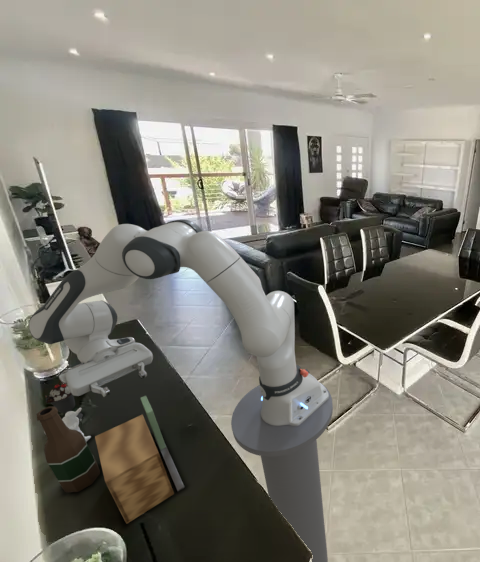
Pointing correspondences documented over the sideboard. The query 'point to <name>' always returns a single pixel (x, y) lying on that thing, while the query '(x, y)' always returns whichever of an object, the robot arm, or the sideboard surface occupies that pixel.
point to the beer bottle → (67, 453)
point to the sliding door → (153, 422)
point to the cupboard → (135, 468)
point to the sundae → (62, 399)
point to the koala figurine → (73, 422)
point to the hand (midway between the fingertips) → (126, 384)
